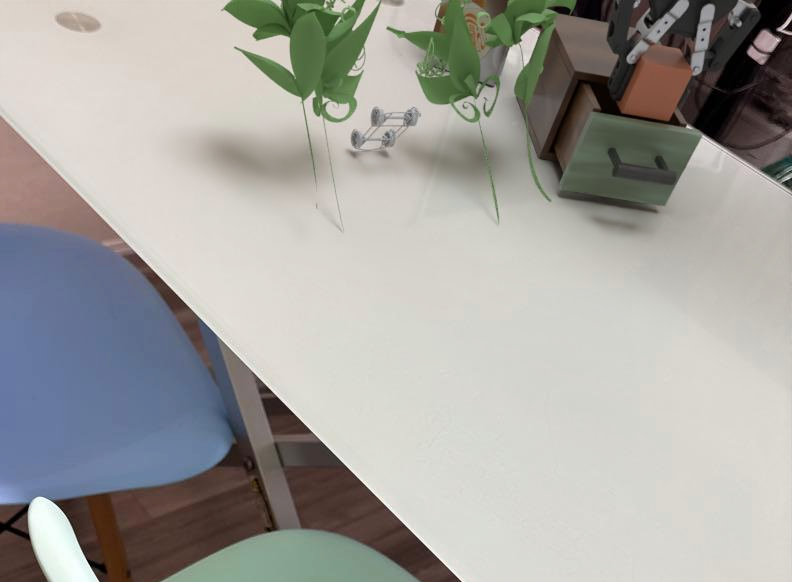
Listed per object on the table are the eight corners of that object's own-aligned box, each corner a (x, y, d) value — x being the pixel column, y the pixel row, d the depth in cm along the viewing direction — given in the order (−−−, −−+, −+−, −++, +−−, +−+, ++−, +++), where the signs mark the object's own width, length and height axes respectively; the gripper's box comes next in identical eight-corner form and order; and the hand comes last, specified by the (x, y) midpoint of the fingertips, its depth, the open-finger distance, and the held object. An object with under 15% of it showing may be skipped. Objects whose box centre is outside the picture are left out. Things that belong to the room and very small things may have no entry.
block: (655, 98, 100) (679, 48, 97) (668, 121, 97) (694, 71, 93) (609, 89, 100) (632, 39, 96) (621, 113, 96) (645, 62, 93)
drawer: (676, 230, 99) (716, 159, 94) (570, 213, 98) (604, 139, 92) (632, 142, 111) (666, 73, 105) (537, 125, 110) (565, 55, 104)
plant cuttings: (526, 251, 107) (496, 49, 107) (634, 189, 91) (598, -48, 91) (223, 266, 96) (190, 41, 96) (284, 199, 79) (244, -72, 80)
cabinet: (646, 176, 108) (690, 91, 101) (538, 158, 107) (574, 70, 99) (616, 113, 118) (653, 31, 110) (515, 95, 116) (547, 11, 109)
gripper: (664, -89, 82) (580, 108, 95) (821, -58, 84) (718, 132, 97) (642, -118, 87) (565, 73, 100) (791, -88, 89) (696, 96, 101)
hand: (640, 101), depth 98 cm, fingers closed on block, 5 cm apart
